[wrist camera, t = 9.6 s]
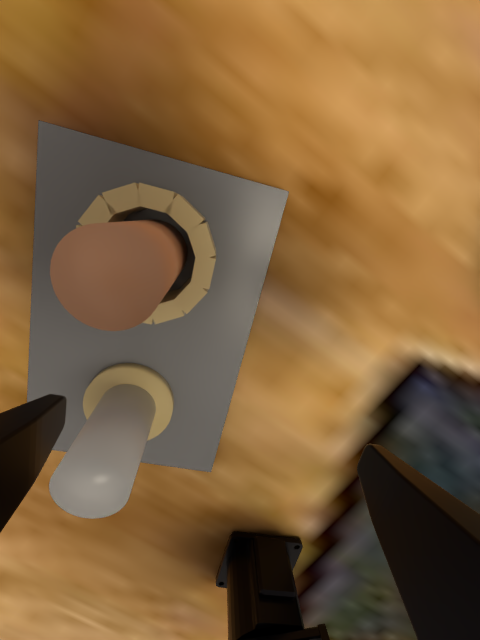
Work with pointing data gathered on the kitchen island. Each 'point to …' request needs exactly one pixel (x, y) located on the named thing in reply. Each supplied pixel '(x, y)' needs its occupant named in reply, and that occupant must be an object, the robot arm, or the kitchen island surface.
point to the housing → (155, 332)
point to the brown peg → (116, 271)
